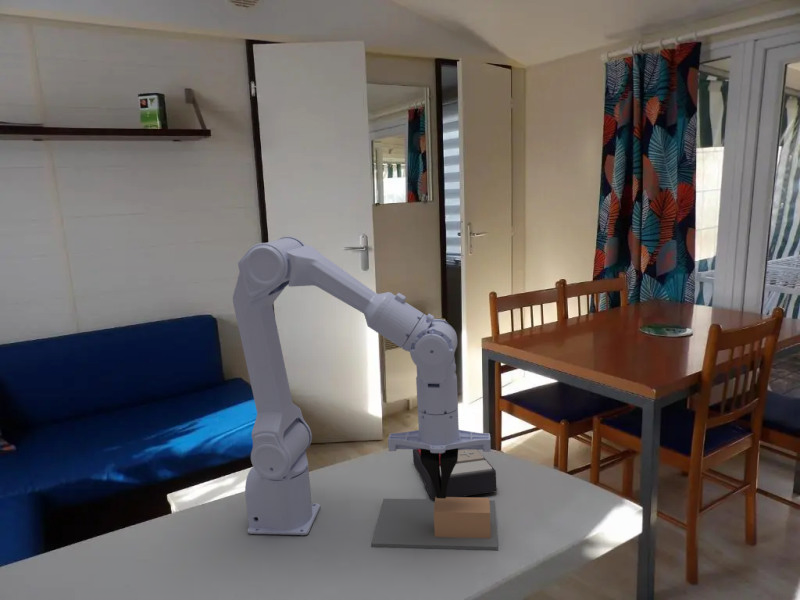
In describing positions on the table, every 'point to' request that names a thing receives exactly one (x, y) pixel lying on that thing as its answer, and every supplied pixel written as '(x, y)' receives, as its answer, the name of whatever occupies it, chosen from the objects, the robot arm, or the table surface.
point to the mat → (422, 527)
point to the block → (462, 517)
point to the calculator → (462, 475)
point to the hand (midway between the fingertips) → (441, 494)
